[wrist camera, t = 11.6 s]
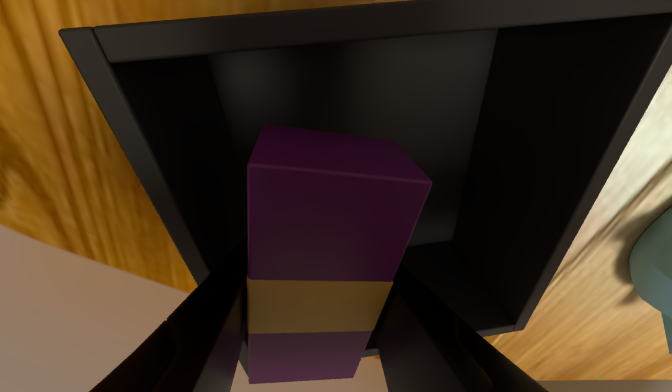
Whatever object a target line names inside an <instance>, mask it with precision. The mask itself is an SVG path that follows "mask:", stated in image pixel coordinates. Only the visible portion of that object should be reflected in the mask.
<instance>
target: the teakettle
mask: <svg viewBox="0 0 672 392" xmlns="http://www.w3.org/2000/svg"><path fill="white" fill-rule="evenodd" d="M629 267H630V274H631V278H632V282H633V285H634V288H635V290H636V292H637V293H638V294H639V296H640V297H641V298H642V299H643V300H644V301H646V302H647V303H649V304H650V305H651V306H653V307H654V308H656V309H657V310H659V311H661V313H662V318H663V323H664V328H665V333H666V338H667V343H668V348H669V353H670V354H672V207H670V208H669V209H668V210H667V211H665V212H664V213H663V214H662V215H661V216H660V217H659V218H657V219H656V220H655V221H654V222H653V223H652V224H651V225H650V226H649V227H648V228H647V230H646V231H645V232H644V233H643V234H642V235H641V237H640V238H639V239H638V241H637V242H636V244H635V246H634V247H633V249H632V252H631V254H630V258H629Z"/></svg>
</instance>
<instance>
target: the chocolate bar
mask: <svg viewBox="0 0 672 392" xmlns="http://www.w3.org/2000/svg"><path fill="white" fill-rule="evenodd" d="M431 186H432V181H431V180H430V179H429V178H428V176H427V175H426V174H425V173H424V172H423V171H422V170H421V169H420V168H419V167H418V166H417V165H416V164H415V162H414V161H413V160H412V159H411V158H410V157H409V156H408V155H407V154H406V153H405V152H404V151H403V150H402V148H401V147H400V146H399V145H398V144H397V143H396V142H395V141H394V140H387V139H379V138H371V137H363V136H356V135H348V134H340V133H333V132H325V131H317V130H309V129H302V128H294V127H286V126H278V125H271V124H264V125H263V127H262V129H261V132H260V134H259V137H258V139H257V142H256V144H255V147H254V149H253V152H252V154H251V157H250V159H249V162H248V164H247V227H248V276H247V331H248V359H249V384H258V383H274V382H275V383H276V382H292V381H309V380H325V379H341V378H353V377H354V374H355V372H356V370H357V367H358V365H359V362H360V360H361V358H362V355H363V353H364V350H365V348H366V345H367V343H368V340H369V338H370V335H371V333H372V331H373V330H374V328H375V326H376V324H377V321H378V319H379V316H380V314H381V311H382V309H383V307H384V304H385V302H386V299H387V297H388V294H389V292H390V290H391V287H392V285H393V279H394V277H395V274H396V272H397V269H398V267H399V265H400V262H401V260H402V257H403V255H404V252H405V250H406V247H407V245H408V242H409V240H410V238H411V235H412V233H413V230H414V228H415V225H416V223H417V220H418V218H419V216H420V213H421V211H422V208H423V206H424V203H425V201H426V198H427V196H428V194H429V191H430V189H431Z"/></svg>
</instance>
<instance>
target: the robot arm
mask: <svg viewBox="0 0 672 392" xmlns="http://www.w3.org/2000/svg"><path fill="white" fill-rule="evenodd" d="M247 276H248V237H245V238H244V239H243V240H242V241H241V242H240V243H239V244H238V245H237V246H236V247H235V249H234V250H233V251H232V252H231V253H230V254H229V255H228V256H227V257H226V258H225V259H224V260H223V261H222V262H221V263H220V264H219V265H218V266H217V267H216V268H215V269H214V270H213V271H212V272H211V273H210V274H209V275H208V276H207V277H206V278H205V279H204V281H203V282H202V283H201V284H200V285H199V286H198V287H197V288H196V289H195V290H194V291H193V292H192V293H191V294H190V295H189V296H188V297H187V298H186V299H185V300H184V301H183V302H182V303H181V304H180V305H179V306H178V307H177V308H176V309H175V311H173V313H172V314H171V315H170V316H169V317H168V318H167V321H164V322H163V323H162V324H161V325H160V326H159V327H158V328H157V329H156V330H155V331H154V332H153V333H152V334H151V335H150V336H149V337H148V338H147V339H146V340H145V341H144V342H143V343H142V344H141V345H140V346H139V347H138V348H137V349H136V350H135V351H134V352H133V353H132V354H131V355H129V356H128V357H127V359H125V360H124V361H123V362H122V363H121V364H120V365H119V366H118V367H116V368H115V369H114V370H113V371H112V372H111V373H110V374H109V375H107V377H105V378H104V379H103V380H102V381H101V382H100V383H98V384H97V385H96V386H95V387H94V388H93V389H92V390H90V391H89V392H230V390H231V386H232V382H233V378H234V374H235V371H236V367H237V363H238V359H239V355H240V352H241V348H242V344H243V340H244V337H245V333H246V329H247ZM373 331H374V335H375V339H376V343H377V347H378V351H379V355H380V359H381V363H382V367H383V371H384V375H385V379H386V383H387V387H388V392H548V391H547V390H546V389H545V388H543V387H542V386H541V385H540V384H539V383H537V382H536V381H535V380H534V379H532V378H531V377H530V376H529V375H527V374H526V373H525V372H524V371H522V370H521V369H520V368H519V367H518V366H516V365H515V364H514V363H513V362H511V361H510V360H509V359H508V358H506V357H505V356H504V355H503V354H502V353H500V352H499V351H498V350H497V349H496V348H494V347H493V346H492V345H491V344H490V343H488V342H487V341H486V340H485V339H484V338H483V337H482V336H480V335H479V334H478V333H477V332H476V331H475V330H474V329H473V328H471V327H470V326H469V325H468V324H467V323H466V322H465V321H464V320H463V319H462V318H461V317H458V315H457V314H456V313H455V312H454V311H453V310H452V309H451V308H450V307H449V306H448V305H446V304H445V303H444V302H443V301H442V300H441V299H440V298H439V297H438V296H437V295H436V294H435V293H433V292H432V291H431V290H430V289H429V288H428V287H427V286H426V285H425V284H424V283H423V282H422V281H420V280H419V279H418V278H417V277H416V276H415V275H414V274H413V273H412V272H411V271H410V270H409V269H407V268H406V267H405V266H404V265H403V264H402V263H401V262H400V265H399V267H398V269H397V272H396V274H395V277H394V279H393V285H392V287H391V290H390V292H389V294H388V297H387V299H386V302H385V304H384V307H383V309H382V311H381V314H380V316H379V319H378V321H377V324H376V326H375V328H374V330H373Z"/></svg>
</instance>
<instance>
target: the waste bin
mask: <svg viewBox="0 0 672 392" xmlns="http://www.w3.org/2000/svg"><path fill="white" fill-rule="evenodd" d="M58 33H59V35H60V37H61V39H62V41H63V43H64V44H65V46H66V48H67V50H68V52H69V53H70V55H71V57H72V59H73V61H74V62H75V64H76V66H77V68H78V70H79V72H80V73H81V75H82V77H83V79H84V81H85V82H86V84H87V86H88V88H89V90H90V91H91V93H92V95H93V97H94V99H95V101H96V102H97V104H98V106H99V108H100V110H101V111H102V113H103V115H104V117H105V119H106V120H107V122H108V124H109V126H110V128H111V129H112V131H113V133H114V135H115V137H116V139H117V140H118V142H119V144H120V146H121V148H122V149H123V151H124V153H125V155H126V157H127V158H128V160H129V162H130V164H131V166H132V168H133V169H134V171H135V173H136V175H137V177H138V178H139V180H140V182H141V184H142V186H143V187H144V189H145V191H146V193H147V195H148V196H149V198H150V200H151V202H152V204H153V206H154V207H155V209H156V211H157V213H158V215H159V216H160V218H161V220H162V222H163V224H164V225H165V227H166V229H167V231H168V233H169V235H170V236H171V238H172V240H173V242H174V244H175V245H176V247H177V249H178V251H179V253H180V254H181V256H182V258H183V260H184V262H185V263H186V265H187V267H188V269H189V271H190V273H191V274H192V276H193V278H194V280H195V282H196V283H197V285H198V286H199V285H200V284H201V283H202V282H203V281H204V279H205V278H206V277H207V276H208V275H209V274H210V273H211V272H212V271H213V270H214V269H215V268H216V267H217V266H218V265H219V264H220V263H221V262H222V261H223V260H224V259H225V258H226V257H227V256H228V255H229V254H230V253H231V252H232V251H233V250H234V249H235V247H236V246H237V245H238V244H239V243H240V242H241V241H242V240H243V239H244V238H245V237H248V227H247V164H248V162H249V159H250V157H251V154H252V152H253V149H254V147H255V144H256V142H257V139H258V137H259V134H260V132H261V129H262V127H263V125H264V124H271V125H278V126H286V127H294V128H302V129H309V130H317V131H325V132H333V133H340V134H348V135H356V136H363V137H371V138H379V139H387V140H394V141H395V142H396V143H397V144H398V145H399V146H400V147H401V148H402V150H403V151H404V152H405V153H406V154H407V155H408V156H409V157H410V158H411V159H412V160H413V161H414V162H415V164H416V165H417V166H418V167H419V168H420V169H421V170H422V171H423V172H424V173H425V174H426V175H427V176H428V178H429V179H430V180H431V181H432V186H431V189H430V191H429V194H428V196H427V198H426V201H425V203H424V206H423V208H422V211H421V213H420V216H419V218H418V220H417V223H416V225H415V228H414V230H413V233H412V235H411V238H410V240H409V242H408V245H407V247H406V250H405V252H404V255H403V257H402V260H401V263H402V264H403V265H404V266H405V267H406V268H407V269H409V270H410V271H411V272H412V273H413V274H414V275H415V276H416V277H417V278H418V279H419V280H420V281H422V282H423V283H424V284H425V285H426V286H427V287H428V288H429V289H430V290H431V291H432V292H433V293H435V294H436V295H437V296H438V297H439V298H440V299H441V300H442V301H443V302H444V303H445V304H446V305H448V306H449V307H450V308H451V309H452V310H453V311H454V312H455V313H456V314H457V315H458V317H461V318H462V319H463V320H464V321H465V322H466V323H467V324H468V325H469V326H470V327H471V328H473V329H474V330H475V331H476V332H477V333H478V334H479V335H480V336H482V337H485V336H491V335H497V334H502V333H508V332H512V331H513V332H514V331H520V330H523V329H524V328H525V326H526V324H527V322H528V321H529V319H530V317H531V315H532V313H533V312H534V310H535V308H536V306H537V305H538V303H539V301H540V299H541V297H542V296H543V294H544V292H545V290H546V288H547V287H548V285H549V283H550V281H551V279H552V278H553V276H554V274H555V272H556V271H557V269H558V267H559V265H560V263H561V262H562V260H563V258H564V256H565V254H566V253H567V251H568V249H569V247H570V245H571V244H572V242H573V240H574V238H575V236H576V235H577V233H578V231H579V229H580V228H581V226H582V224H583V222H584V220H585V219H586V217H587V215H588V213H589V211H590V210H591V208H592V206H593V204H594V202H595V201H596V199H597V197H598V195H599V194H600V192H601V190H602V188H603V186H604V185H605V183H606V181H607V179H608V177H609V176H610V174H611V172H612V170H613V168H614V167H615V165H616V163H617V161H618V160H619V158H620V156H621V154H622V152H623V151H624V149H625V147H626V145H627V143H628V142H629V140H630V138H631V136H632V134H633V133H634V131H635V129H636V127H637V125H638V124H639V122H640V120H641V118H642V117H643V115H644V113H645V111H646V109H647V108H648V106H649V104H650V102H651V100H652V99H653V97H654V95H655V93H656V91H657V90H658V88H659V86H660V84H661V83H662V81H663V79H664V77H665V75H666V74H667V72H668V70H669V68H670V66H671V65H672V0H408V1H396V2H384V3H372V4H359V5H347V6H335V7H323V8H310V9H298V10H286V11H274V12H261V13H249V14H237V15H225V16H212V17H200V18H188V19H176V20H163V21H151V22H139V23H127V24H114V25H102V26H95V27H78V28H66V29H61V30H59V31H58ZM374 355H379V351H378V347H377V343H376V339H375V335H374V331H372V333H371V335H370V338H369V340H368V343H367V345H366V348H365V350H364V353H363V355H362V357H368V356H374ZM239 361H240V363H241V365H242V366H243V369H244V370H245V372H246V374H247V376H248V377H249V359H248V331H247V329H246V333H245V337H244V340H243V344H242V348H241V352H240V355H239Z"/></svg>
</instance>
